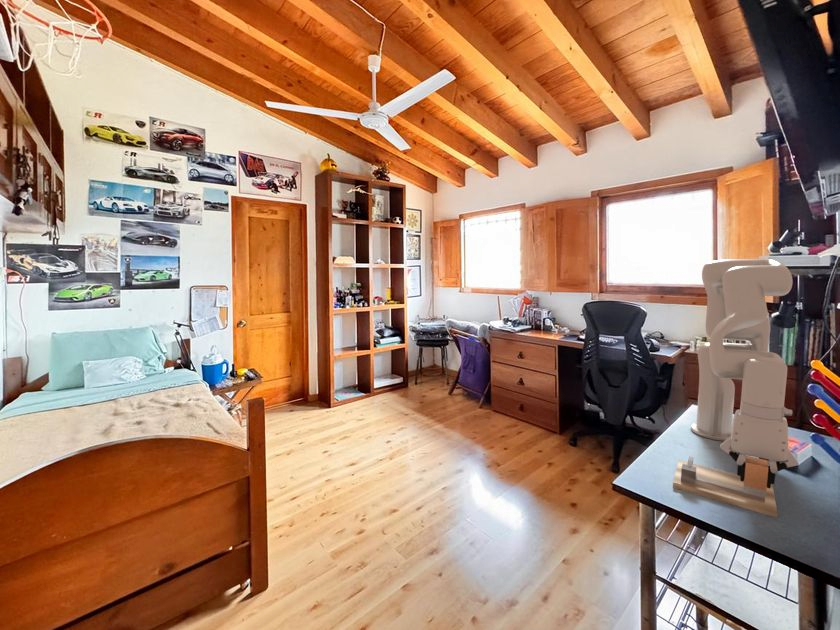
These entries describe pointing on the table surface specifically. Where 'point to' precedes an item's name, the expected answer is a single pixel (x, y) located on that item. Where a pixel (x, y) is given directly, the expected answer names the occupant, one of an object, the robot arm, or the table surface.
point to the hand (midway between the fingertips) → (754, 481)
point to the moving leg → (755, 476)
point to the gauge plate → (721, 487)
